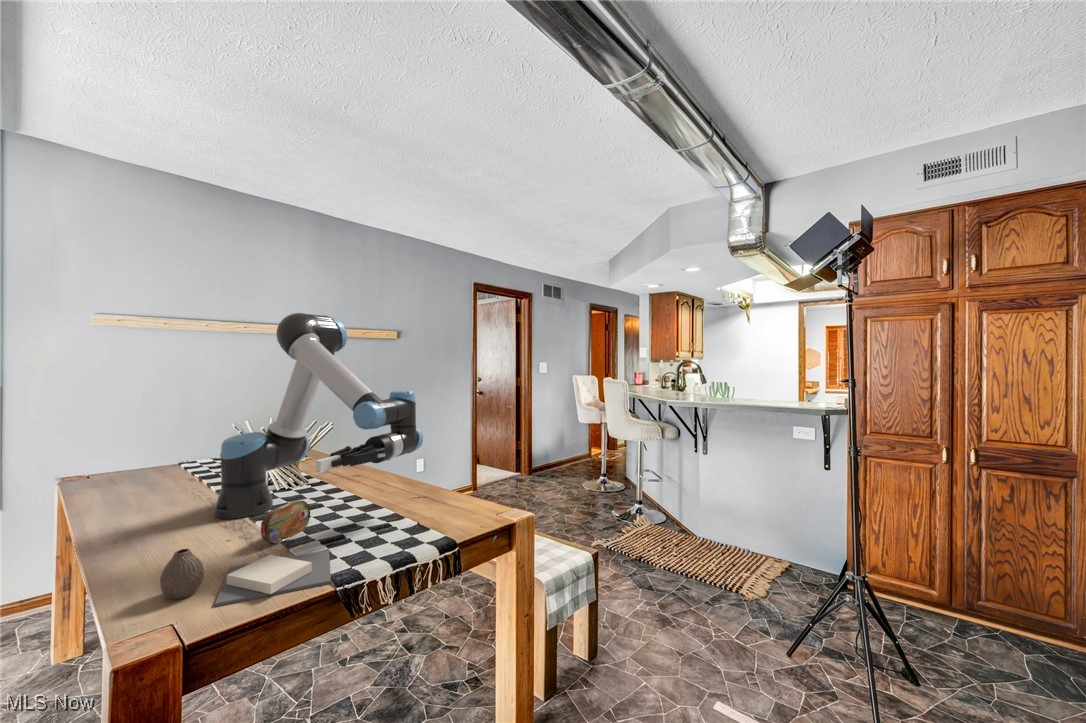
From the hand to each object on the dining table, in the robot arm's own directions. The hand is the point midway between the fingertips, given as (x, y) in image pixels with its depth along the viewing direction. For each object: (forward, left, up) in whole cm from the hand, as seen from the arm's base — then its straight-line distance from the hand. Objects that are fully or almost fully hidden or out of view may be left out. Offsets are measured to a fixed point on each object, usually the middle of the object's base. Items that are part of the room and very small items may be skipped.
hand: (318, 466), depth 108 cm
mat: (+7, -8, -21) cm, 24 cm away
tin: (-18, -8, -22) cm, 29 cm away
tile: (+9, -9, -20) cm, 23 cm away
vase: (+7, -24, -22) cm, 33 cm away
